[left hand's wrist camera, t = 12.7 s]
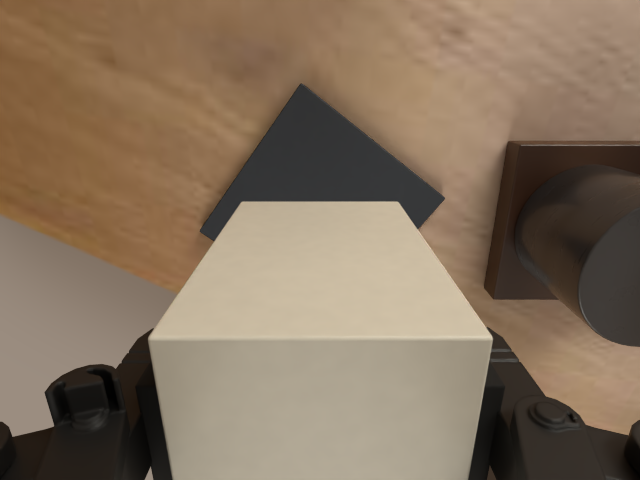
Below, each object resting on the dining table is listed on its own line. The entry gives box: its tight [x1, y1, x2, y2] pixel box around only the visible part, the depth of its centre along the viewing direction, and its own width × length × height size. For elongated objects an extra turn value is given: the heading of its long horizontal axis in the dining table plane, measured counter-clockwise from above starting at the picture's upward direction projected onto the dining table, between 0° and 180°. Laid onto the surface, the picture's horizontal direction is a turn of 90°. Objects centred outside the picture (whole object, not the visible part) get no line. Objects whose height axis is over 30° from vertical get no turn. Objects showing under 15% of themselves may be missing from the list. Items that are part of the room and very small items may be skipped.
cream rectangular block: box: [148, 202, 493, 480], centre depth 12 cm, size 6×6×9 cm
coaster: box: [200, 84, 445, 241], centre depth 23 cm, size 10×10×1 cm
